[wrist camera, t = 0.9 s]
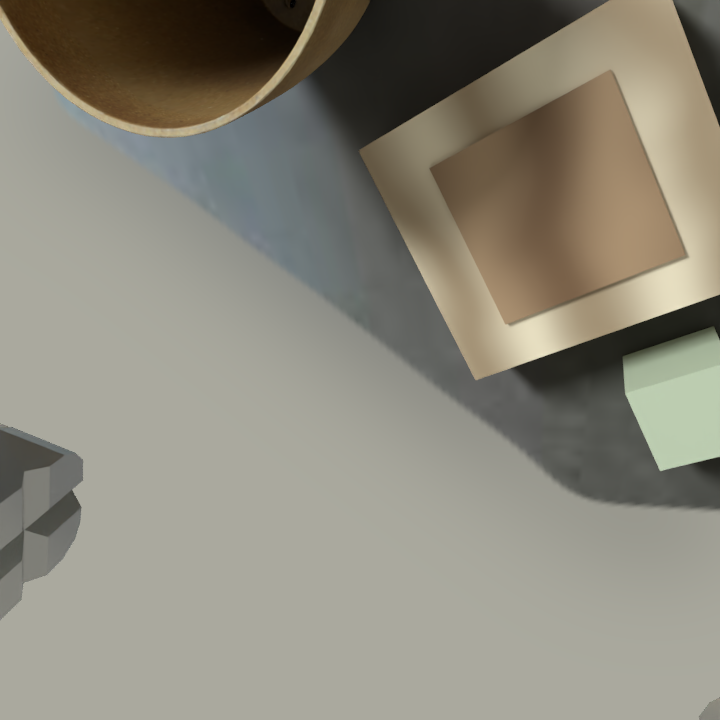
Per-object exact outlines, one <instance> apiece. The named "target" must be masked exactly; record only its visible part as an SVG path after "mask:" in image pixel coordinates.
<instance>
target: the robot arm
mask: <svg viewBox="0 0 720 720" xmlns="http://www.w3.org/2000/svg"><path fill="white" fill-rule="evenodd" d="M81 481H83V459H81V458H80V457H79V456H78V455H77V454H76V453H74V452H72V451H69V450H67V449H64V448H62V447H59V446H57V445H55V444H52V443H50V442H47V441H45V440H42V439H40V438H37V437H35V436H32V435H30V434H27V433H25V432H23V431H20V430H18V429H15V428H13V427H8V426H5V425H3V424H1V423H0V620H1V619H2V618H3V617H4V616H5V615H6V614H7V613H8V612H9V611H10V610H11V609H12V608H13V607H14V606H15V605H16V604H17V603H18V602H19V601H21V598H22V590H23V583H24V582H27V581H30V580H33V579H36V578H39V577H42V576H45V575H47V574H48V573H49V572H50V571H51V570H52V569H53V568H54V567H55V566H56V565H57V564H58V563H59V562H60V561H61V560H62V559H63V558H64V556H65V554H66V552H67V551H68V549H69V548H70V546H71V545H72V543H73V541H74V540H75V537H76V534H77V531H78V527H79V524H80V518H81V506H80V504H79V502H78V500H77V498H76V496H75V495H74V493H73V491H72V489H73V488H74V487H76V486H77V485H78V484H79V483H80V482H81ZM699 719H700V720H720V698H718V699H716V700H714V701H712V702H710V703H709V704H708V705H707V707H706V708H705V709H704V711H703V712H702V713H701V715H700V716H699Z"/></svg>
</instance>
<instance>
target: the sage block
mask: <svg viewBox="0 0 720 720" xmlns="http://www.w3.org/2000/svg"><path fill="white" fill-rule="evenodd" d="M623 370H624V383H625V394H626V396H627V398H628V401H629V403H630V405H631V407H632V410H633V412H634V414H635V416H636V418H637V421H638V423H639V425H640V427H641V430H642V432H643V434H644V436H645V438H646V441H647V443H648V445H649V447H650V449H651V452H652V454H653V456H654V458H655V461H656V463H657V465H658V467H659V469H660V471H662V470H666V469H670V468H674V467H678V466H682V465H687V464H691V463H695V462H699V461H703V460H707V459H712V458H716V457H720V340H719V337H718V335H717V333H716V330H715V328H714V326H713V327H710V328H707V329H704V330H701V331H698V332H695V333H691V334H688V335H685V336H682V337H679V338H676V339H673V340H670V341H667V342H664V343H661V344H658V345H655V346H652V347H649V348H646V349H643V350H640V351H637V352H634V353H631V354H628V355H625V356H623Z"/></svg>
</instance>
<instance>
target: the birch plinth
mask: <svg viewBox="0 0 720 720" xmlns="http://www.w3.org/2000/svg"><path fill="white" fill-rule="evenodd" d="M358 151H359V153H360V155H361V157H362V159H363V161H364V163H365V165H366V167H367V169H368V170H369V172H370V174H371V176H372V178H373V180H374V182H375V184H376V186H377V188H378V190H379V192H380V194H381V196H382V198H383V200H384V202H385V204H386V206H387V208H388V210H389V212H390V214H391V216H392V217H393V219H394V221H395V223H396V225H397V227H398V229H399V231H400V233H401V235H402V237H403V239H404V241H405V243H406V245H407V247H408V249H409V251H410V253H411V255H412V257H413V259H414V261H415V263H416V264H417V266H418V268H419V270H420V272H421V274H422V276H423V278H424V280H425V282H426V284H427V286H428V288H429V290H430V292H431V294H432V296H433V298H434V300H435V302H436V304H437V306H438V308H439V309H440V311H441V313H442V315H443V317H444V319H445V321H446V323H447V325H448V327H449V329H450V331H451V333H452V335H453V337H454V339H455V341H456V343H457V345H458V347H459V349H460V351H461V353H462V355H463V356H464V358H465V360H466V362H467V364H468V366H469V368H470V370H471V372H472V374H473V376H474V378H475V380H478V379H481V378H483V377H486V376H489V375H492V374H495V373H498V372H501V371H503V370H506V369H509V368H512V367H515V366H518V365H521V364H523V363H526V362H529V361H532V360H535V359H538V358H540V357H543V356H546V355H549V354H552V353H555V352H558V351H560V350H563V349H566V348H569V347H572V346H575V345H577V344H580V343H583V342H586V341H589V340H592V339H595V338H597V337H600V336H603V335H606V334H609V333H612V332H615V331H617V330H620V329H623V328H626V327H629V326H632V325H634V324H637V323H640V322H643V321H646V320H649V319H652V318H654V317H657V316H660V315H663V314H666V313H669V312H671V311H674V310H677V309H680V308H683V307H686V306H689V305H691V304H694V303H697V302H700V301H703V300H706V299H708V298H711V297H714V296H717V295H720V127H719V124H718V121H717V119H716V116H715V113H714V111H713V108H712V105H711V103H710V100H709V97H708V94H707V92H706V89H705V86H704V84H703V81H702V78H701V76H700V73H699V70H698V68H697V65H696V62H695V60H694V57H693V54H692V52H691V49H690V46H689V43H688V41H687V38H686V35H685V33H684V30H683V27H682V25H681V22H680V19H679V17H678V14H677V11H676V9H675V6H674V3H673V1H672V0H609V1H608V2H606V3H604V4H603V5H601V6H599V7H598V8H596V9H594V10H593V11H591V12H589V13H588V14H586V15H584V16H583V17H581V18H579V19H578V20H576V21H574V22H573V23H571V24H569V25H568V26H566V27H564V28H563V29H561V30H559V31H558V32H556V33H554V34H553V35H551V36H549V37H548V38H546V39H544V40H543V41H541V42H539V43H537V44H536V45H534V46H532V47H531V48H529V49H527V50H526V51H524V52H522V53H521V54H519V55H517V56H516V57H514V58H512V59H511V60H509V61H507V62H506V63H504V64H502V65H501V66H499V67H497V68H496V69H494V70H492V71H491V72H489V73H487V74H486V75H484V76H482V77H481V78H479V79H477V80H476V81H474V82H472V83H471V84H469V85H467V86H466V87H464V88H462V89H460V90H459V91H457V92H455V93H454V94H452V95H450V96H449V97H447V98H445V99H444V100H442V101H440V102H439V103H437V104H435V105H434V106H432V107H430V108H429V109H427V110H425V111H424V112H422V113H420V114H419V115H417V116H415V117H414V118H412V119H410V120H409V121H407V122H405V123H404V124H402V125H400V126H399V127H397V128H395V129H394V130H392V131H390V132H388V133H387V134H385V135H383V136H382V137H380V138H378V139H377V140H375V141H373V142H372V143H370V144H368V145H367V146H365V147H363V148H362V149H360V150H358Z"/></svg>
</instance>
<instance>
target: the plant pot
mask: <svg viewBox="0 0 720 720" xmlns="http://www.w3.org/2000/svg"><path fill="white" fill-rule="evenodd" d="M291 1H292V0H0V19H1V21H2V23H3V24H4V26H5V28H6V29H7V30H8V32H9V34H10V35H11V37H12V38H13V40H14V41H15V43H16V44H17V46H18V47H19V49H20V50H21V52H22V53H23V54H24V55H25V57H26V58H27V59H28V60H29V62H30V63H31V64H32V65H33V66H34V67H35V69H36V70H37V71H38V72H39V73H40V74H41V75H42V76H43V77H44V78H45V79H46V80H47V81H48V82H49V83H50V84H51V85H52V86H53V87H54V88H55V89H56V90H57V91H59V92H60V93H61V94H62V95H63V96H64V97H65V98H67V99H68V100H69V101H71V102H72V103H73V104H75V105H76V106H78V107H79V108H81V109H82V110H84V111H85V112H87V113H88V114H90V115H92V116H94V117H95V118H97V119H99V120H101V121H103V122H105V123H108V124H110V125H112V126H114V127H117V128H120V129H123V130H126V131H129V132H132V133H136V134H140V135H144V136H152V137H167V138H174V137H185V136H191V135H196V134H201V133H205V132H208V131H211V130H214V129H217V128H219V127H221V126H224V125H226V124H228V123H230V122H232V121H234V120H236V119H238V118H240V117H242V116H244V115H246V114H248V113H250V112H252V111H254V110H255V109H257V108H259V107H261V106H263V105H264V104H266V103H268V102H269V101H271V100H273V99H275V98H276V97H278V96H280V95H281V94H283V93H284V92H286V91H287V90H289V89H291V88H292V87H294V86H295V85H296V84H298V83H299V82H301V81H302V80H303V79H305V78H306V77H307V76H309V75H310V74H311V73H312V72H313V71H315V70H316V69H317V68H318V67H319V66H321V65H322V64H323V63H324V62H325V61H326V60H327V59H328V58H329V57H330V56H331V55H332V54H333V53H334V52H335V51H336V50H337V49H338V48H339V47H340V46H341V45H342V43H343V42H344V41H345V40H346V39H347V38H348V36H349V35H350V34H351V32H352V31H353V30H354V28H355V27H356V25H357V24H358V22H359V20H360V19H361V17H362V16H363V14H364V12H365V10H366V8H367V6H368V4H369V2H370V0H296V4H295V6H294V7H293V8H291V7H290V3H291Z"/></svg>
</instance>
